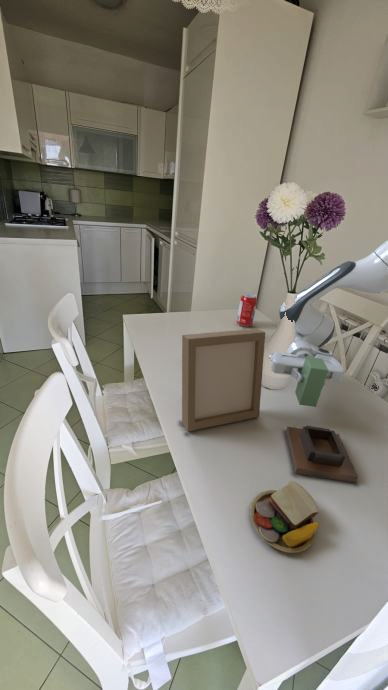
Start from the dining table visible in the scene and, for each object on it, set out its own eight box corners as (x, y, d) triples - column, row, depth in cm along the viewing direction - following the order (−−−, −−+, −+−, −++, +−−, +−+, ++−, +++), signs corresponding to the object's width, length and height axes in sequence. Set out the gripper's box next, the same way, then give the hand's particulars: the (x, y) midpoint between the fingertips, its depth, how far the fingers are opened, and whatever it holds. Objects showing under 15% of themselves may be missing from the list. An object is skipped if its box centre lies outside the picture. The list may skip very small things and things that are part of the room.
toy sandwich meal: (237, 503, 63) (241, 488, 61) (290, 486, 68) (295, 471, 66) (273, 566, 53) (279, 551, 51) (331, 540, 58) (339, 525, 56)
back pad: (310, 394, 89) (322, 358, 83) (315, 407, 84) (328, 370, 78) (295, 392, 89) (305, 356, 84) (299, 404, 84) (311, 367, 78)
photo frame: (258, 419, 87) (277, 341, 76) (187, 434, 79) (197, 350, 68) (234, 389, 99) (247, 318, 88) (170, 399, 91) (176, 323, 80)
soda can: (232, 323, 149) (237, 293, 142) (243, 319, 154) (248, 291, 147) (245, 328, 144) (251, 298, 137) (255, 325, 149) (261, 296, 142)
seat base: (336, 439, 83) (342, 425, 81) (355, 482, 71) (363, 467, 68) (285, 431, 84) (289, 417, 81) (295, 473, 71) (300, 458, 69)
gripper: (270, 343, 94) (276, 366, 82) (337, 352, 93) (353, 377, 81) (266, 361, 97) (271, 386, 84) (331, 369, 96) (346, 396, 83)
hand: (312, 381), depth 83 cm, fingers closed on back pad, 4 cm apart
